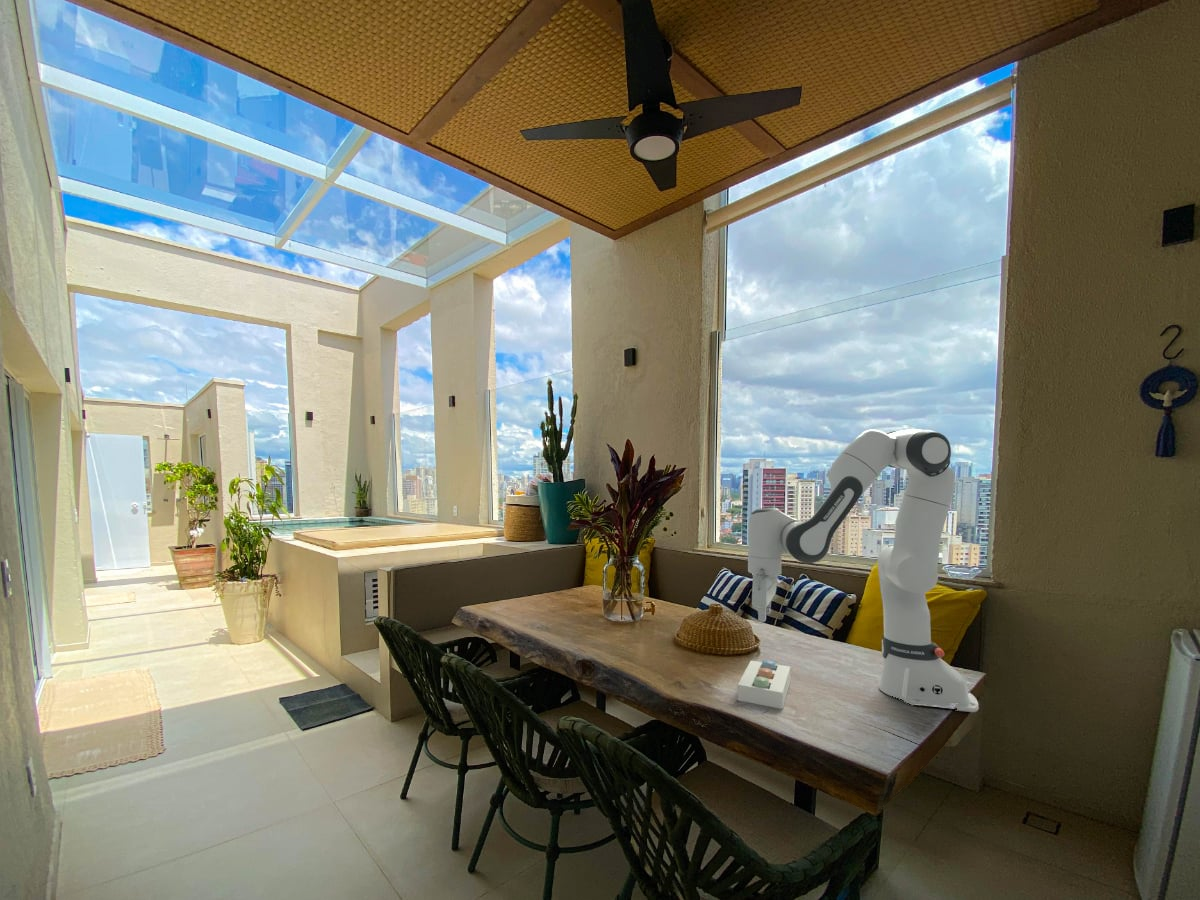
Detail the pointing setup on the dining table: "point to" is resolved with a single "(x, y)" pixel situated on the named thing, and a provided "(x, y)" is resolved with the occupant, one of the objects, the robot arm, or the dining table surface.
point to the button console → (762, 695)
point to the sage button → (761, 682)
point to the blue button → (769, 664)
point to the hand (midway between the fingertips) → (764, 617)
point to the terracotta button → (765, 673)
